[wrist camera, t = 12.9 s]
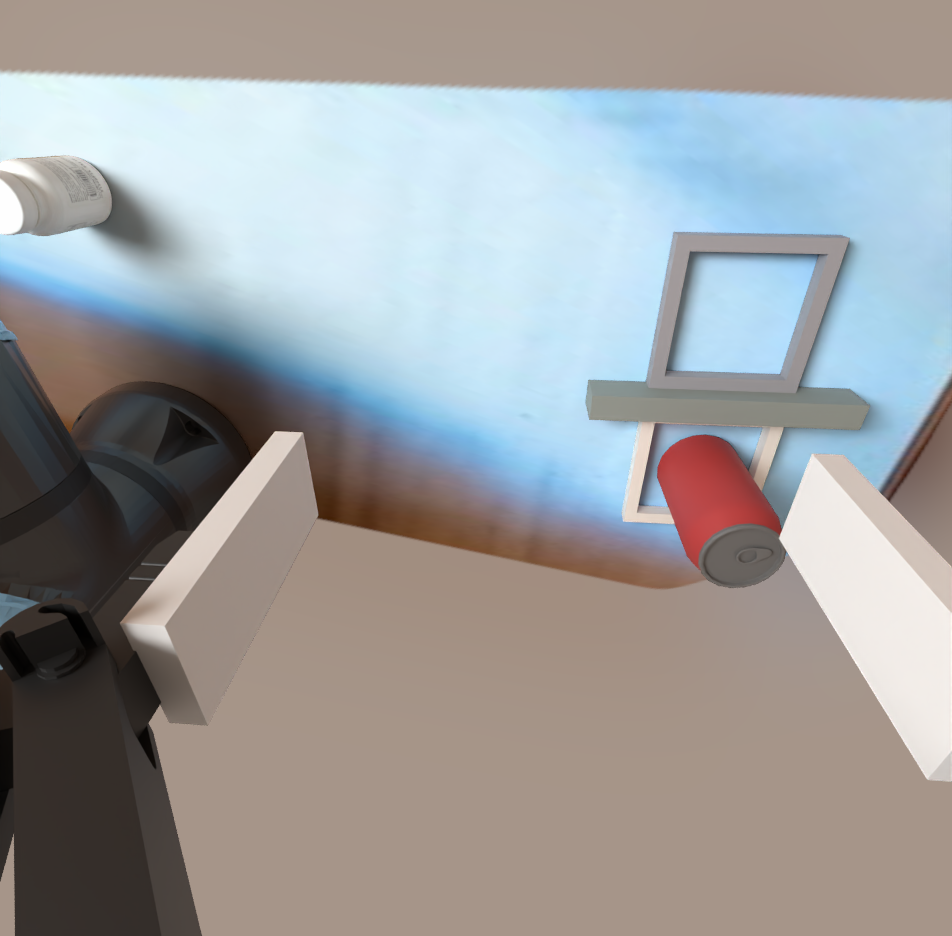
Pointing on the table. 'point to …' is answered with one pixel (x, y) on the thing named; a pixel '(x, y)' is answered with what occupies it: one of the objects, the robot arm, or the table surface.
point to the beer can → (720, 512)
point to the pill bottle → (51, 195)
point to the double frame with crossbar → (729, 393)
